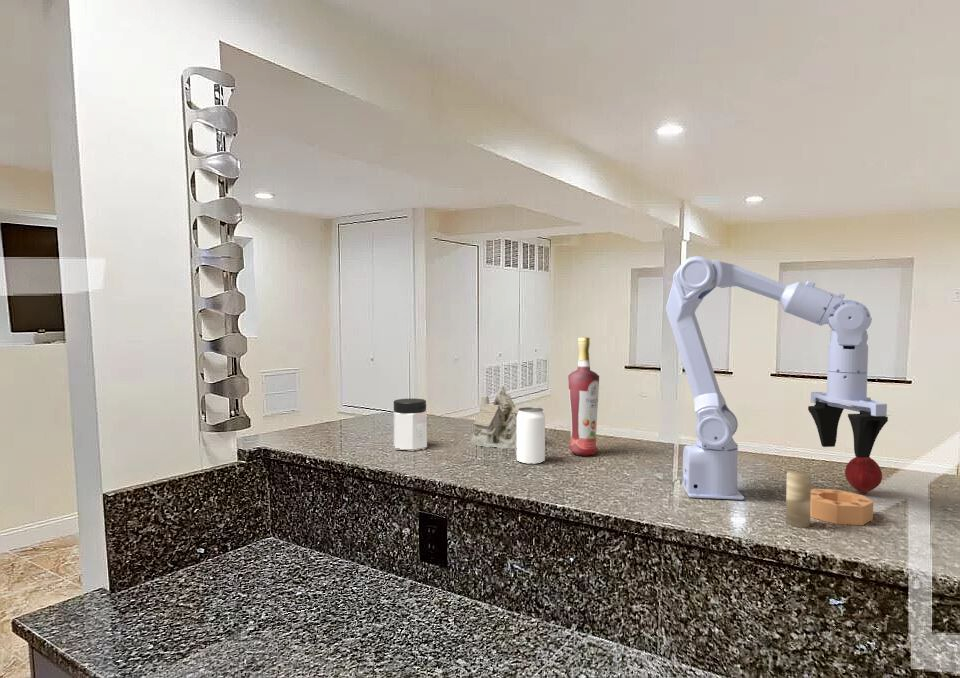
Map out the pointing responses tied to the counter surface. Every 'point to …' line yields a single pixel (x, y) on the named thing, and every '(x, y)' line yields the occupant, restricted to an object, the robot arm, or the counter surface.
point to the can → (530, 435)
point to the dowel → (798, 499)
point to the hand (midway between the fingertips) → (844, 451)
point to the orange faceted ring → (840, 507)
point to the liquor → (583, 403)
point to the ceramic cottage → (496, 422)
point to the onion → (863, 474)
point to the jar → (410, 423)
